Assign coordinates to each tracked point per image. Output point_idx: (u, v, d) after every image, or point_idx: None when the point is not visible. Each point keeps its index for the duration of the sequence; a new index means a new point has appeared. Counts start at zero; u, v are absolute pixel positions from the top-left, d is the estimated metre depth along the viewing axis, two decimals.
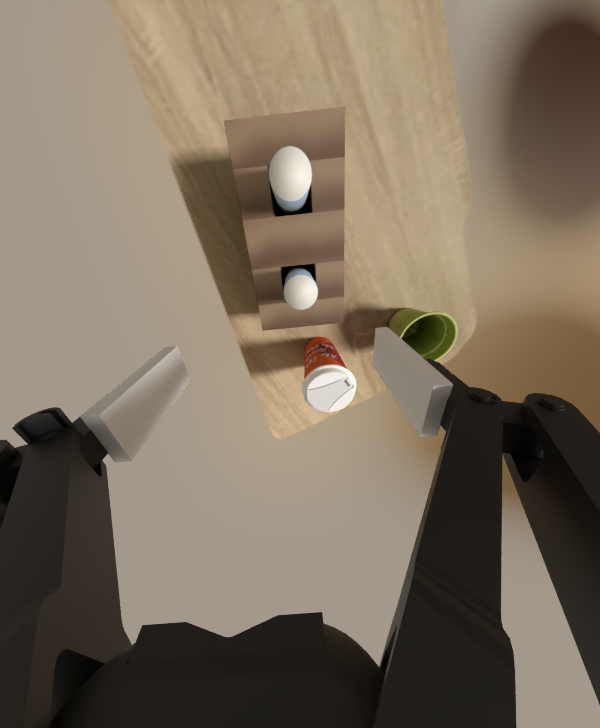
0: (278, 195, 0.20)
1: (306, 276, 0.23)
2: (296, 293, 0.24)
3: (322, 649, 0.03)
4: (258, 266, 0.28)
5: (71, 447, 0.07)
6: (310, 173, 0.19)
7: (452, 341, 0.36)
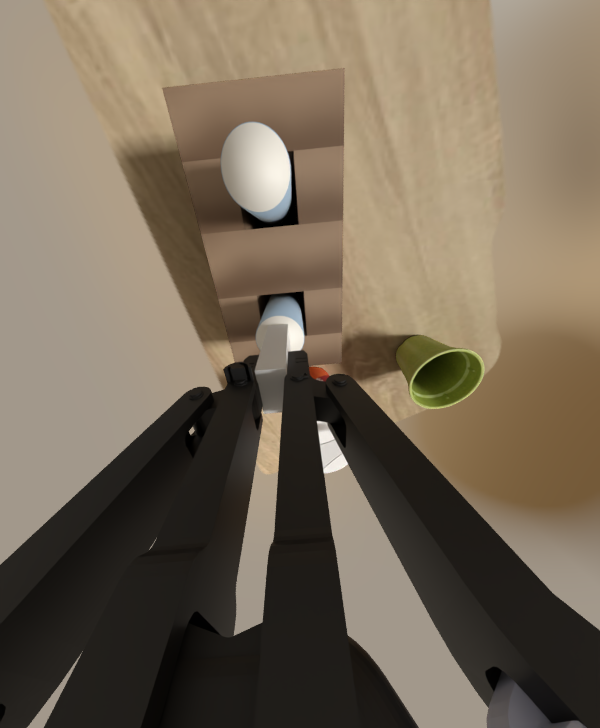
0: (238, 202, 0.12)
1: (287, 318, 0.16)
2: None
3: None
4: (226, 295, 0.21)
5: (248, 401, 0.09)
6: (288, 168, 0.12)
7: (476, 382, 0.29)
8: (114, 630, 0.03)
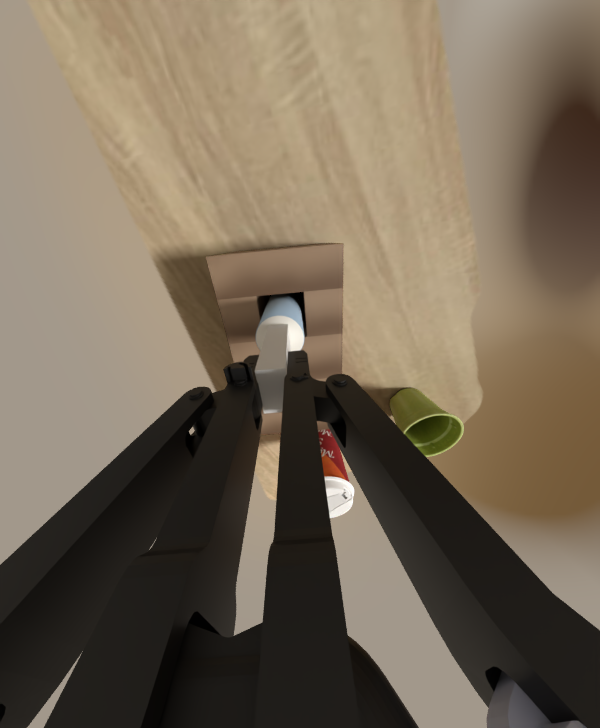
0: None
1: None
2: None
3: None
4: None
5: (248, 401, 0.09)
6: (302, 337, 0.17)
7: (457, 437, 0.33)
8: (114, 630, 0.03)
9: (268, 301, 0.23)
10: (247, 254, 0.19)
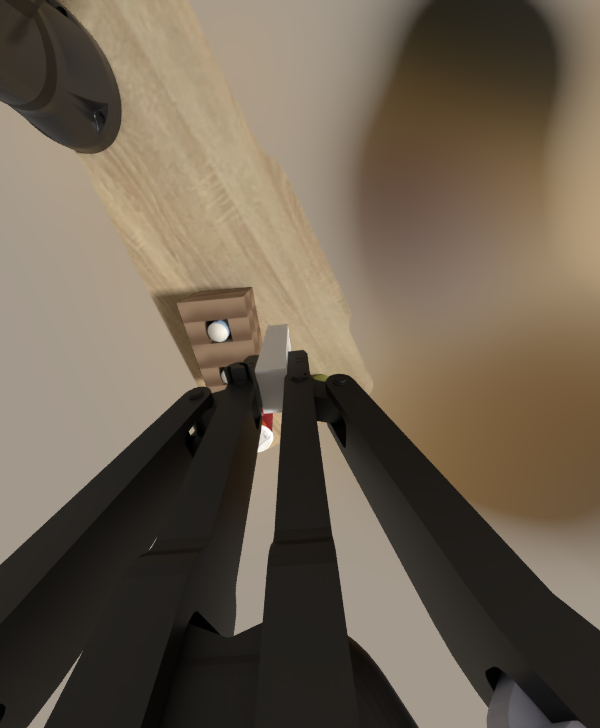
0: (213, 339, 0.42)
1: None
2: None
3: None
4: (203, 367, 0.45)
5: (248, 401, 0.09)
6: (226, 332, 0.41)
7: None
8: (114, 630, 0.03)
9: None
10: (196, 302, 0.39)
